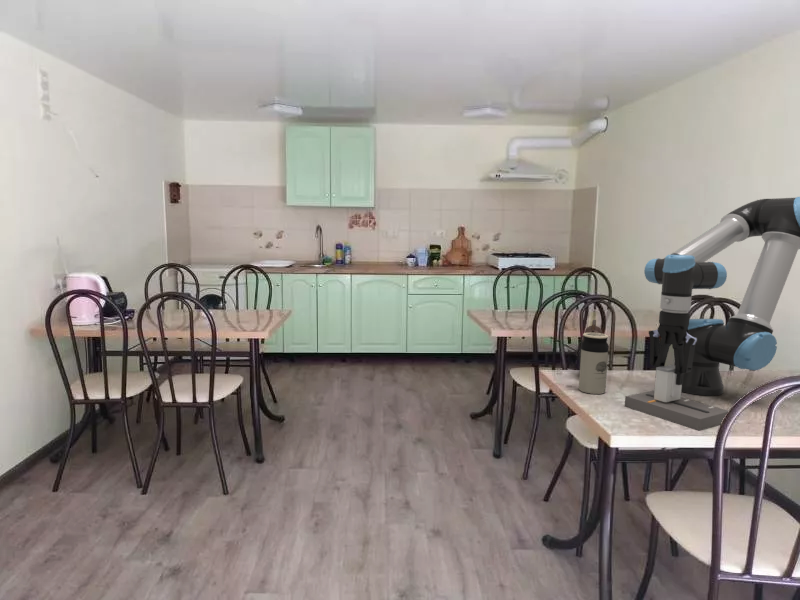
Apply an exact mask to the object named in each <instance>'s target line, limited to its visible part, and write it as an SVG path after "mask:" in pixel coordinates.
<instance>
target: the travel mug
mask: <svg viewBox="0 0 800 600" xmlns="http://www.w3.org/2000/svg"><path fill="white" fill-rule="evenodd" d="M582 336H584V341H583V343H582V346H581V345H580V348H581V361H580V360H579V378H578V379H579V380H578V390H579V391H581V392H583V393H584V394H585V393H586V394H589V393H590V395H600V394H601V395H602V394H604V393H606V390H607V389H606V388H607V373H608V363H609V362H608V360H609V347H610V346H609V345H608V342H607V341H608V338H609V335H608V334H606V333H602V334H601V333H585V332H584V333H583V334H582Z"/></svg>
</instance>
